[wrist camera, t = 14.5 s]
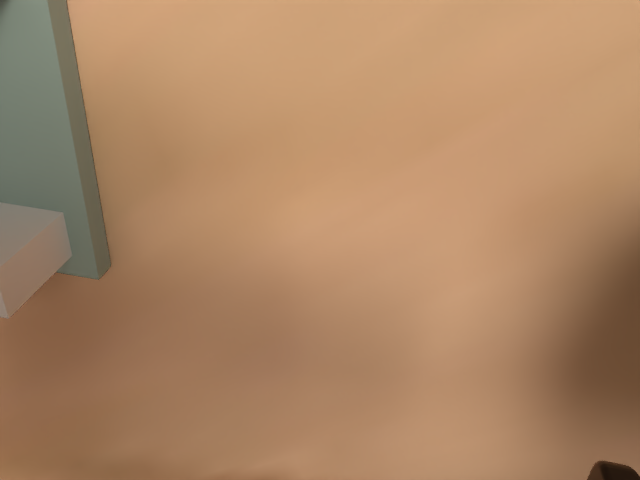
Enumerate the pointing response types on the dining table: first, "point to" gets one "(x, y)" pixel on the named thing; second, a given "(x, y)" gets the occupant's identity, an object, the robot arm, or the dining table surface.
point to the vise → (44, 156)
